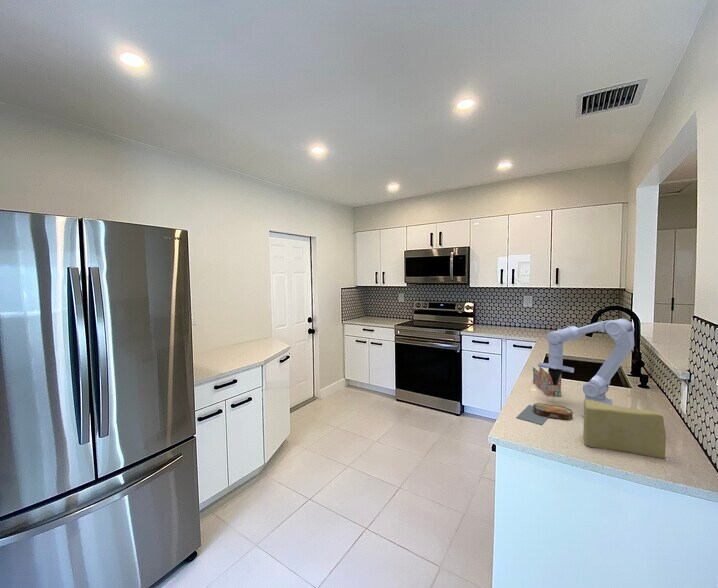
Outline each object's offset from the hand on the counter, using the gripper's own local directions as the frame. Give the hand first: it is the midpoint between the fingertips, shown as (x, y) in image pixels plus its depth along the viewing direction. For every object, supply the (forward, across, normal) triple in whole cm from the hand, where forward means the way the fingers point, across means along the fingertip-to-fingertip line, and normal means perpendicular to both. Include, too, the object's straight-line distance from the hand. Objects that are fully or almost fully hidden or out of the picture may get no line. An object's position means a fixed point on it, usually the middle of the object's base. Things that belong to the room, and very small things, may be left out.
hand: (555, 384), depth 151 cm
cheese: (+10, +27, -29) cm, 41 cm away
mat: (+9, -4, -19) cm, 21 cm away
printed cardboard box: (+10, -8, +19) cm, 23 cm away
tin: (+8, +4, -18) cm, 20 cm away
